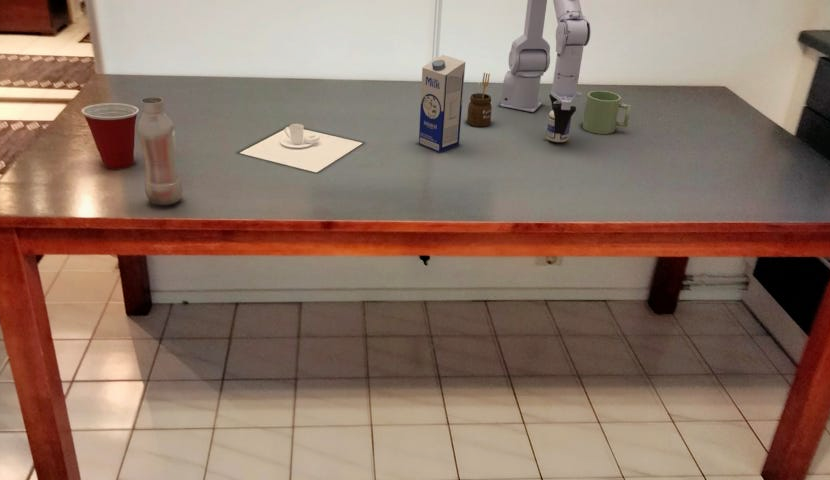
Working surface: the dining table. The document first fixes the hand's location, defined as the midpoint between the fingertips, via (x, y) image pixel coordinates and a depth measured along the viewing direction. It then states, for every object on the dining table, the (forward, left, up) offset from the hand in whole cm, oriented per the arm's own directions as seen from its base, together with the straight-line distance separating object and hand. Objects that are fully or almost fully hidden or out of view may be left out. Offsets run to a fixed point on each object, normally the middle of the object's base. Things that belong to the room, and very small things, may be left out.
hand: (558, 129), depth 183 cm
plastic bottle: (-58, -72, -3) cm, 92 cm away
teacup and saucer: (-50, -35, -3) cm, 61 cm away
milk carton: (-24, -17, -3) cm, 30 cm away
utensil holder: (-21, +2, -3) cm, 21 cm away
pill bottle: (0, 0, -3) cm, 3 cm away
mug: (+8, +15, -3) cm, 17 cm away
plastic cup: (-78, -62, -3) cm, 100 cm away
